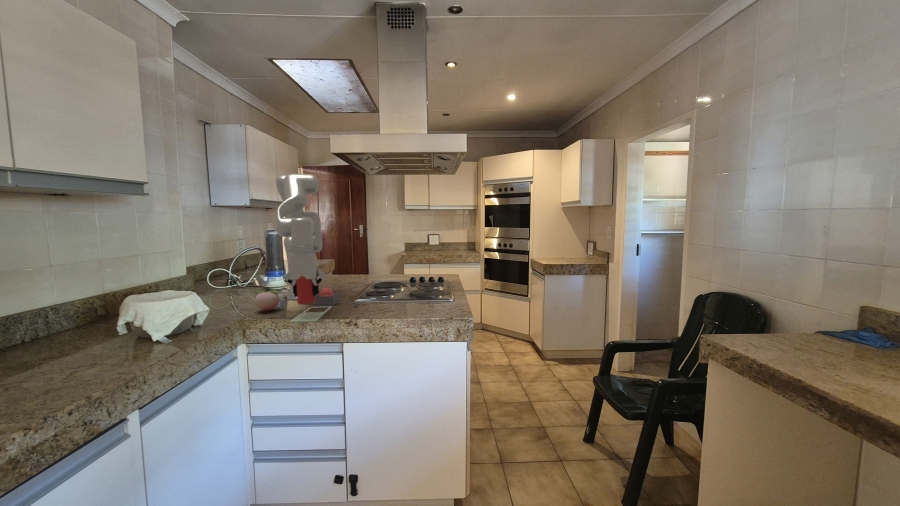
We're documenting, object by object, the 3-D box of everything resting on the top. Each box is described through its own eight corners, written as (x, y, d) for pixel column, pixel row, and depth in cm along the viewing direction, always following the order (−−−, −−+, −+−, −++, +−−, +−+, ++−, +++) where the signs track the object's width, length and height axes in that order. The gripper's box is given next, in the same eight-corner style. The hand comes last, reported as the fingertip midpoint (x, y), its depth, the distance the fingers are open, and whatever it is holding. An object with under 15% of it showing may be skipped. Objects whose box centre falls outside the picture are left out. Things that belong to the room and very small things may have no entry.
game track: (289, 322, 127) (288, 310, 126) (316, 302, 157) (316, 292, 156) (316, 321, 127) (315, 309, 127) (338, 301, 157) (337, 292, 157)
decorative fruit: (253, 315, 138) (251, 291, 136) (258, 310, 145) (256, 287, 144) (279, 312, 140) (277, 289, 139) (282, 307, 148) (280, 285, 147)
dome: (317, 302, 149) (316, 289, 149) (322, 299, 156) (321, 286, 155) (331, 302, 150) (330, 288, 149) (335, 298, 156) (334, 285, 155)
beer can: (318, 302, 131) (316, 272, 130) (302, 306, 127) (299, 274, 125) (311, 300, 136) (309, 271, 135) (294, 303, 131) (292, 273, 130)
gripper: (275, 251, 125) (279, 298, 127) (322, 250, 126) (325, 296, 128) (284, 249, 132) (287, 294, 134) (328, 248, 133) (331, 292, 135)
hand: (306, 295), depth 131 cm, fingers closed on beer can, 6 cm apart
